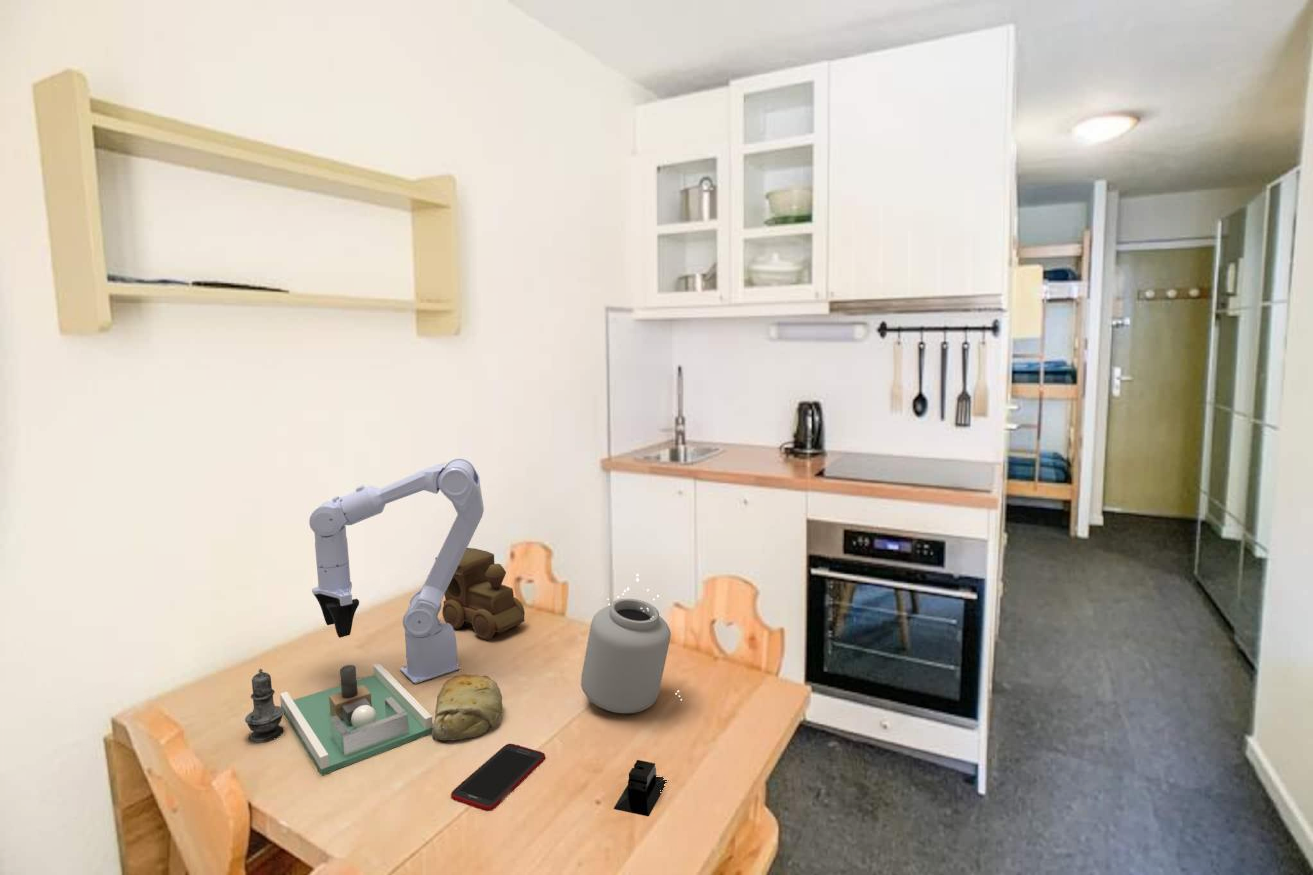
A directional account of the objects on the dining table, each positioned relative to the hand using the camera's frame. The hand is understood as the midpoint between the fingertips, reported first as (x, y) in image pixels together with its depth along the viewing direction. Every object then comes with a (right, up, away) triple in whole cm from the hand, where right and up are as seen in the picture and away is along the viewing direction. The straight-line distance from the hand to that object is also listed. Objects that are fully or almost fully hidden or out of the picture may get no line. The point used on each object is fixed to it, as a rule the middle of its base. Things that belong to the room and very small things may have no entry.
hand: (338, 629), depth 139 cm
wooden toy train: (+22, -7, +26) cm, 35 cm away
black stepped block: (+61, -16, -34) cm, 71 cm away
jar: (+58, -12, -8) cm, 60 cm away
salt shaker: (-4, -13, -18) cm, 23 cm away
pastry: (+29, -13, -14) cm, 35 cm away
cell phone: (+39, -15, -30) cm, 51 cm away
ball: (+13, -10, -18) cm, 24 cm away
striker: (+9, -11, -14) cm, 20 cm away
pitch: (+9, -12, -14) cm, 21 cm away
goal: (+14, -12, -20) cm, 28 cm away
